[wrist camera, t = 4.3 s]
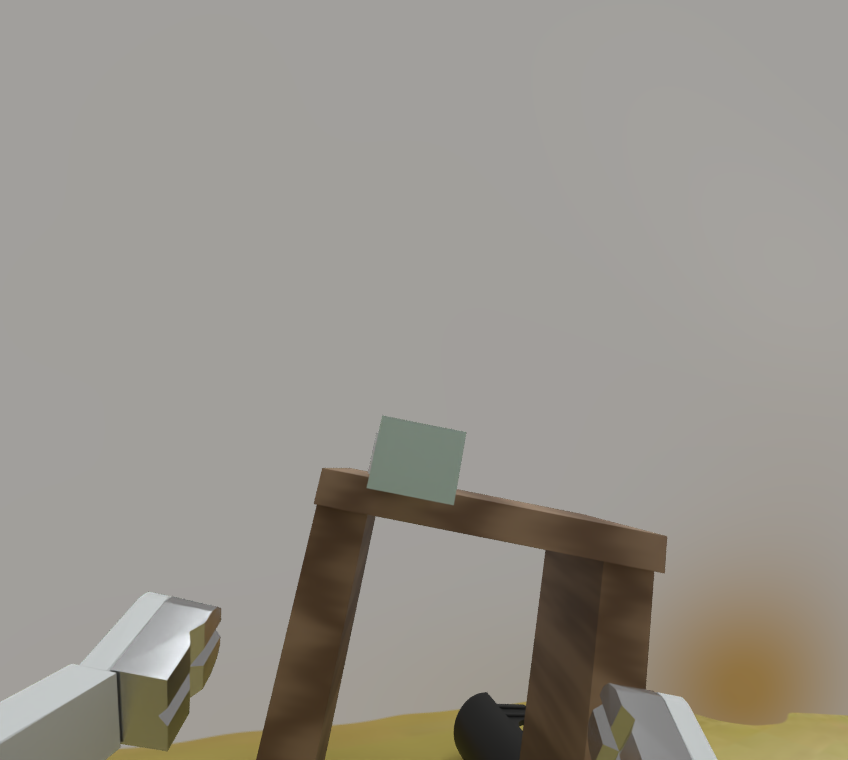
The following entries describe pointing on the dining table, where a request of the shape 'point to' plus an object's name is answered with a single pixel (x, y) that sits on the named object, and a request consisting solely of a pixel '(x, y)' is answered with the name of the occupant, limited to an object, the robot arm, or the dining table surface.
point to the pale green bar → (416, 460)
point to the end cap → (489, 729)
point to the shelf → (556, 621)
